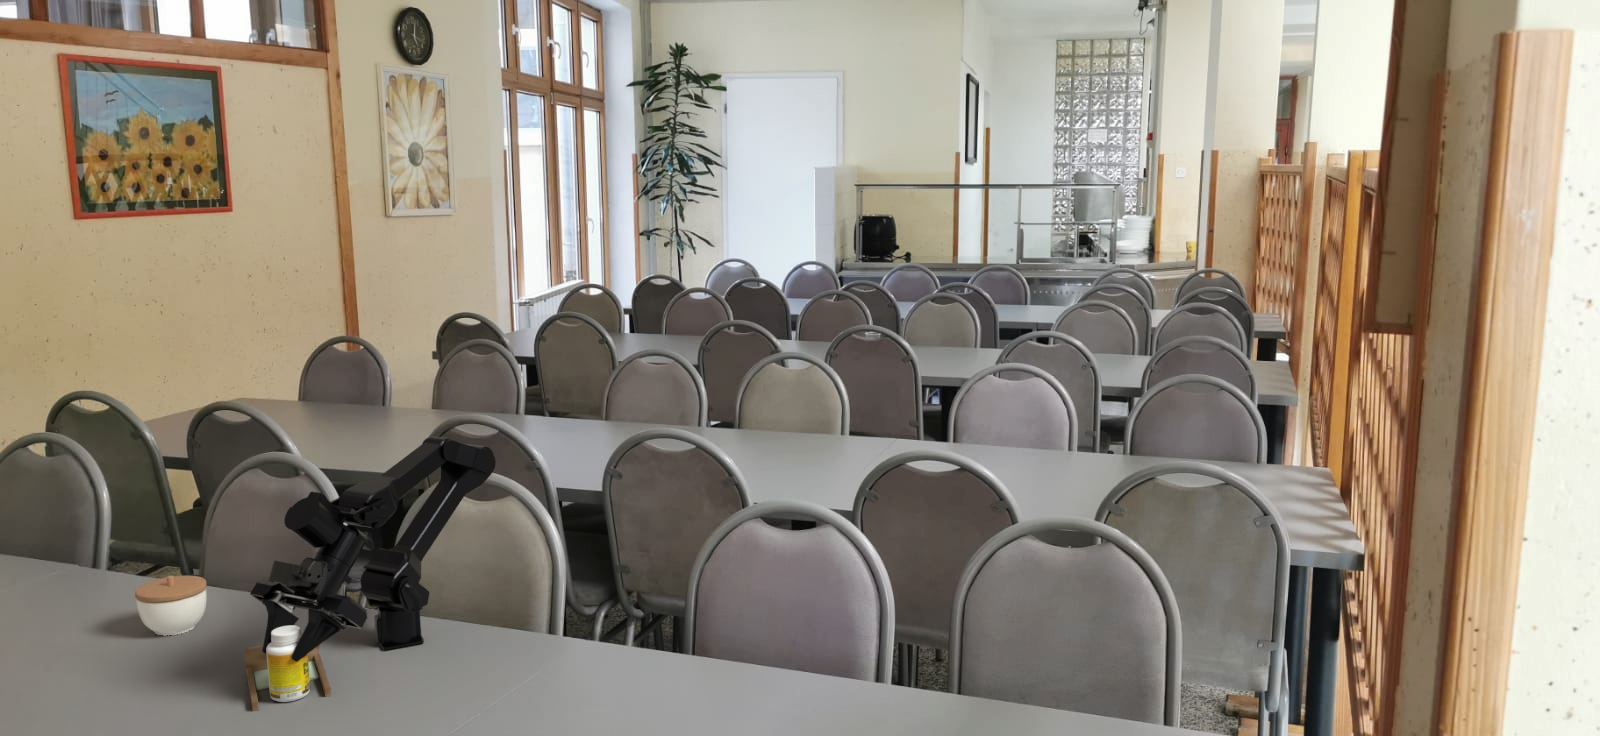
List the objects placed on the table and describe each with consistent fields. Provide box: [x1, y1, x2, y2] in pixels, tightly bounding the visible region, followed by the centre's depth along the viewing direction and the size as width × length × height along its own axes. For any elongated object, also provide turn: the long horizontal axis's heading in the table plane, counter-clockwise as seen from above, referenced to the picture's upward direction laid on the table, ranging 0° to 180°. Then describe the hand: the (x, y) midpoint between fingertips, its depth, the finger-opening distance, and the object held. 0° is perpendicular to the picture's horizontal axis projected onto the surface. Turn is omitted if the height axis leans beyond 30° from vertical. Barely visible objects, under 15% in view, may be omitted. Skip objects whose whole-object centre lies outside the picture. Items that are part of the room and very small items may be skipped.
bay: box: [244, 644, 332, 712], centre depth 177 cm, size 11×15×4 cm
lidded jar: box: [134, 575, 208, 637], centre depth 198 cm, size 11×11×9 cm
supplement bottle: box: [266, 624, 311, 703], centre depth 172 cm, size 6×6×10 cm
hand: (279, 656), depth 171 cm, fingers closed on supplement bottle, 6 cm apart
